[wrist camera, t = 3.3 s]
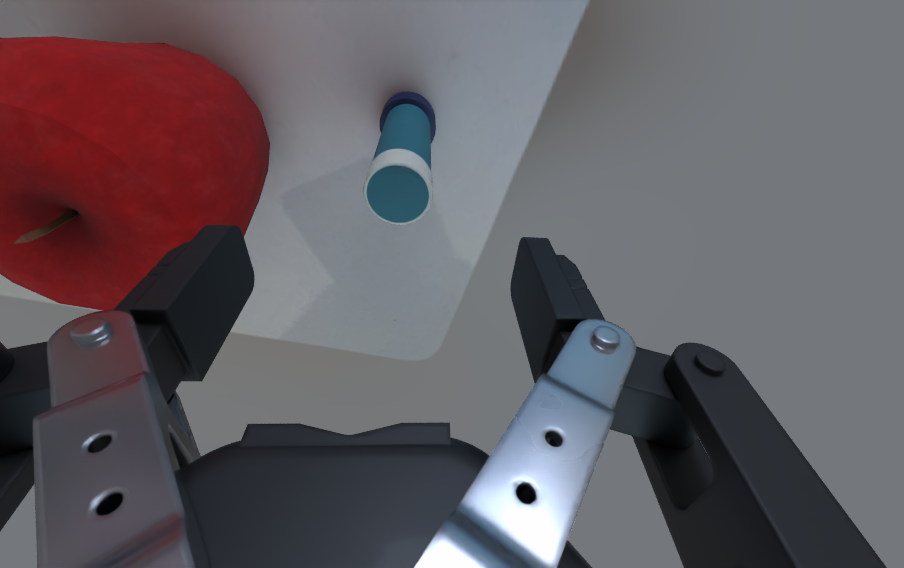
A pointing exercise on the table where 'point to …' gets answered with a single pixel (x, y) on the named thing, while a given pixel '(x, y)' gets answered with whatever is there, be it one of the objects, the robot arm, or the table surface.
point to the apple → (117, 161)
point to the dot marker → (402, 161)
